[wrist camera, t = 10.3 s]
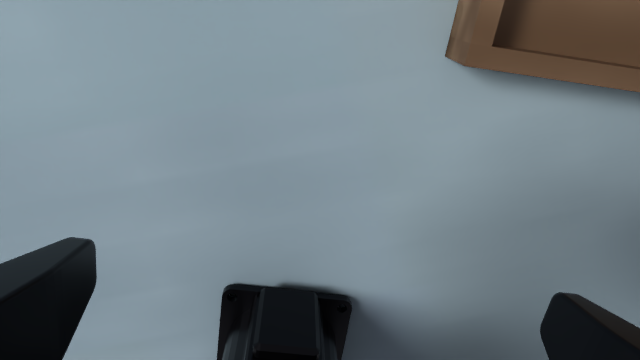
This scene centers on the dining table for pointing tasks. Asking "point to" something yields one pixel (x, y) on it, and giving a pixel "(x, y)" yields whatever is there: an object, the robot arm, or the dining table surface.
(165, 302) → the dining table surface
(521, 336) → the dining table surface
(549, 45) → the tray
